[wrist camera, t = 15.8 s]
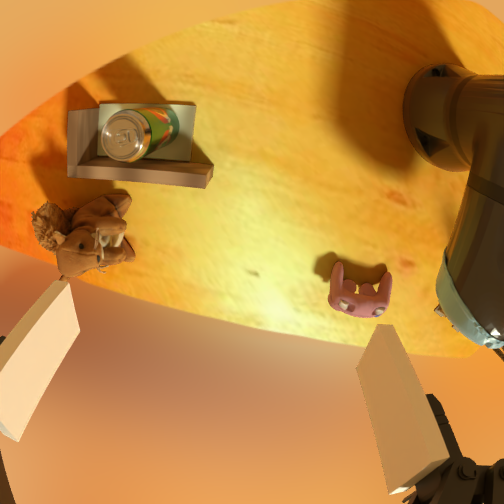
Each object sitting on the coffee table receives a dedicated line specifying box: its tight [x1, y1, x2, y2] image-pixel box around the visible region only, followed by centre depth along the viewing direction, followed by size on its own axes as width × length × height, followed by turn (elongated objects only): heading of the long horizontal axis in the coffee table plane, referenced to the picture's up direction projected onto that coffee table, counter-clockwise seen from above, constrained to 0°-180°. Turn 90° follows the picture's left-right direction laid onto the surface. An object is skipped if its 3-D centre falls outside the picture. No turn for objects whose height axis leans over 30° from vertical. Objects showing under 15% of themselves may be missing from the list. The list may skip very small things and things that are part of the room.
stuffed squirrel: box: [31, 194, 135, 282], centre depth 35 cm, size 10×14×13 cm
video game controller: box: [328, 261, 392, 318], centre depth 42 cm, size 10×5×7 cm, turn 78°
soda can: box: [101, 107, 180, 163], centre depth 29 cm, size 5×5×12 cm
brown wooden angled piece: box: [67, 103, 214, 189], centre depth 33 cm, size 18×9×6 cm, turn 82°
